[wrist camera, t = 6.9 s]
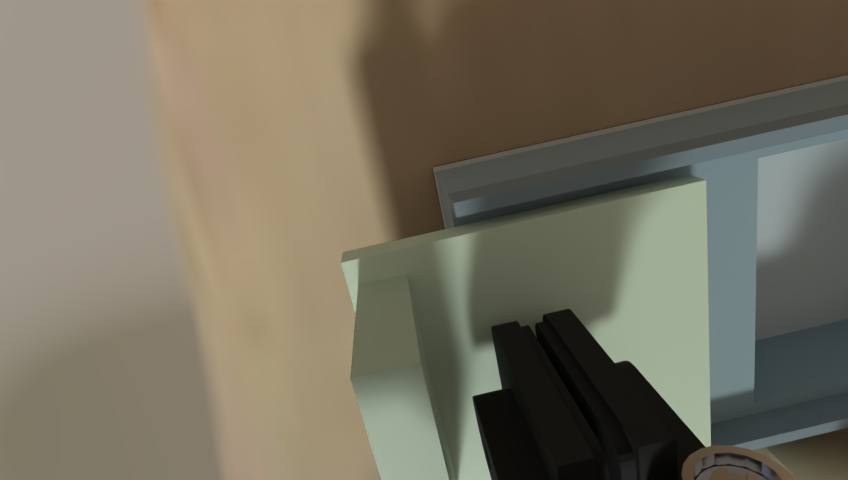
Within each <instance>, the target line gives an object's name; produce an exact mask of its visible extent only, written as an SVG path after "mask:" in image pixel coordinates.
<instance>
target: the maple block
mask: <svg viewBox="0 0 848 480" xmlns="http://www.w3.org/2000/svg"><path fill="white" fill-rule="evenodd" d="M753 451H755V452H758V453H760V454H763V455H765V456H767V457H769V458H770V459H772V460H773V461H775V462H777V463H778V464H780V465H781V466H783V467H784V468H785V469H787V470H788V471H789V472H790V473H792V474H793V475H794V476H795V477H797V478H798V479H799V480H848V428H844V429H840V430H836V431H832V432H828V433H823V434H819V435H815V436H811V437H806V438H802V439H798V440H794V441H790V442H785V443H781V444H777V445H773V446H769V447H764V448H760V449H756V450H753Z"/></svg>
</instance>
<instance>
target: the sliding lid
mask: <svg viewBox="0 0 848 480" xmlns="http://www.w3.org/2000/svg"><path fill="white" fill-rule="evenodd" d="M341 264H342V268H343V271H344V275H345V278H346V282H347V285H348V289H349V292H350V296H351V299H352V303H353V307H354V310H355V314H356V317H355V329H354V341H353V354H352V366H351V381H352V385H353V388H354V391H355V395H356V398H357V401H358V405H359V408H360V411H361V415H362V418H363V421H364V425H365V428H366V431H367V435H368V438H369V441H370V445H371V448H372V451H373V455H374V458H375V461H376V465H377V468H378V471H379V475H380V478H381V480H491V476H490V473H489V469H488V465H487V461H486V458H485V454H484V450H483V446H482V441H481V437H480V433H479V428H478V423H477V419H476V414H475V409H474V404H473V398H472V396H475V395H479V394H484V393H488V392H492V391H496V390H501V389H502V386H501V381H500V376H499V370H498V365H497V359H496V354H495V348H494V343H493V337H492V331H491V327H492V326H495V325H500V324H504V323H508V322H513V321H518V323H519V324H520V326H521V327H522V326H526V325H529V326H530V328H531V330H532V331H533V333H534V335H535V336H536V331H535V324H536V323H539V322H543V315H544V314H547V313H552V312H556V311H560V310H565V309H570V310H572V312H573V313H574V314H575V315H576V316H577V318H578V319H579V320H580V321H581V323H582V324H583V325H584V326H585V327H586V329H587V330H588V331H589V332H590V334H591V335H592V336H593V337H594V338H595V340H596V341H597V342H598V343H599V345H600V346H601V347H602V348H603V349H604V351H605V352H606V353H607V354H608V356H609V357H610V358H611V359H612V360H613V362H614V363H617V362H621V361H625V360H626V361H630V362H631V363H632V364H633V365H634V366H635V367H636V368H637V369H638V370H639V372H640V373H641V374H642V375H643V376H644V377H645V378H646V380H647V381H648V382H649V383H650V384H651V385H652V386H653V388H654V389H655V390H656V391H657V392H658V393H659V394H660V396H661V397H662V398H663V399H664V400H665V401H666V402H667V404H668V405H669V406H670V407H671V408H672V409H673V410H674V412H675V413H676V414H677V415H678V416H679V417H680V418H681V420H682V421H683V422H684V423H685V424H686V425H687V426H688V428H689V429H690V430H691V431H692V432H693V433H694V434H695V436H696V437H697V438H698V439H699V440H700V441H701V442H702V444H703V445H704V446H705V447H709V446H711V418H710V363H709V308H708V253H707V197H706V180H704V179H701V178H698V177H695V176H692V175H689V174H687V175H683V176H678V177H674V178H669V179H665V180H661V181H656V182H652V183H647V184H643V185H638V186H634V187H630V188H625V189H621V190H616V191H612V192H607V193H603V194H599V195H594V196H590V197H585V198H581V199H576V200H572V201H568V202H563V203H559V204H554V205H550V206H545V207H541V208H537V209H532V210H528V211H523V212H519V213H514V214H510V215H506V216H501V217H497V218H492V219H488V220H483V221H479V222H475V223H470V224H466V225H461V226H457V227H453V228H448V229H444V230H439V231H435V232H430V233H426V234H422V235H417V236H413V237H408V238H404V239H399V240H395V241H391V242H386V243H382V244H377V245H373V246H368V247H364V248H360V249H355V250H351V251H346V252H343V255H342V261H341Z"/></svg>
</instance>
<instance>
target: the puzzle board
mask: <svg viewBox="0 0 848 480" xmlns="http://www.w3.org/2000/svg"><path fill="white" fill-rule="evenodd" d="M433 172H434V177H435V182H436V187H437V192H438V197H439V202H440V206H441V211H442V216H443V221H444V226H445V229H448V228H453V227H457V226H461V225H466V224H470V223H475V222H479V221H483V220H488V219H492V218H497V217H501V216H506V215H510V214H514V213H519V212H523V211H528V210H532V209H537V208H541V207H545V206H550V205H554V204H559V203H563V202H568V201H572V200H576V199H581V198H585V197H590V196H594V195H599V194H603V193H607V192H612V191H616V190H621V189H625V188H630V187H634V186H638V185H643V184H647V183H652V182H656V181H661V180H665V179H669V178H674V177H678V176H683V175H687V174H689V175H692V176H695V177H698V178H701V179H704V180H706V197H707V253H708V308H709V363H710V418H711V446H714V445H731V446H736V447H741V448H746V449H750V450H752V451H753V450H756V449H760V448H764V447H769V446H773V445H777V444H781V443H785V442H790V441H794V440H798V439H802V438H806V437H811V436H815V435H819V434H823V433H828V432H832V431H836V430H840V429H844V428H848V75H844V76H840V77H835V78H831V79H826V80H822V81H818V82H813V83H809V84H804V85H800V86H795V87H791V88H786V89H782V90H777V91H773V92H768V93H764V94H759V95H755V96H750V97H746V98H741V99H737V100H732V101H728V102H724V103H719V104H715V105H710V106H706V107H701V108H697V109H692V110H688V111H683V112H679V113H674V114H670V115H665V116H661V117H656V118H652V119H647V120H643V121H638V122H634V123H630V124H625V125H621V126H616V127H612V128H607V129H603V130H598V131H594V132H589V133H585V134H580V135H576V136H571V137H567V138H562V139H558V140H553V141H549V142H544V143H540V144H536V145H531V146H527V147H522V148H518V149H513V150H509V151H504V152H500V153H495V154H491V155H486V156H482V157H477V158H473V159H468V160H464V161H459V162H455V163H450V164H446V165H442V166H437V167H433ZM709 447H710V446H709Z"/></svg>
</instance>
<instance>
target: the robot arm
mask: <svg viewBox="0 0 848 480" xmlns="http://www.w3.org/2000/svg"><path fill="white" fill-rule="evenodd" d="M491 331H492V337H493V343H494V348H495V354H496V359H497V365H498V370H499V376H500V381H501V386H502V389H501V390H496V391H492V392H488V393H484V394H479V395H475V396H472V398H473V404H474V409H475V414H476V419H477V423H478V428H479V433H480V437H481V441H482V446H483V450H484V454H485V458H486V461H487V465H488V469H489V473H490V476H491V480H799V479H798V478H797V477H795V476H794V475H793V474H792V473H790V472H789V471H788V470H787V469H785V468H784V467H783V466H781V465H780V464H778V463H777V462H775V461H773V460H772V459H770V458H769V457H767V456H765V455H763V454H760V453H758V452H755V451H752V450H750V449H746V448H741V447H736V446H731V445H714V446H710V447H705V446H704V445H703V444H702V442H701V441H700V440H699V439H698V438H697V437H696V436H695V434H694V433H693V432H692V431H691V430H690V429H689V428H688V426H687V425H686V424H685V423H684V422H683V421H682V420H681V418H680V417H679V416H678V415H677V414H676V413H675V412H674V410H673V409H672V408H671V407H670V406H669V405H668V404H667V402H666V401H665V400H664V399H663V398H662V397H661V396H660V394H659V393H658V392H657V391H656V390H655V389H654V388H653V386H652V385H651V384H650V383H649V382H648V381H647V380H646V378H645V377H644V376H643V375H642V374H641V373H640V372H639V370H638V369H637V368H636V367H635V366H634V365H633V364H632V363H631V362H630V361H626V360H625V361H621V362H617V363H614V362H613V360H612V359H611V358H610V357H609V356H608V354H607V353H606V352H605V351H604V349H603V348H602V347H601V346H600V345H599V343H598V342H597V341H596V340H595V338H594V337H593V336H592V335H591V334H590V332H589V331H588V330H587V329H586V327H585V326H584V325H583V324H582V323H581V321H580V320H579V319H578V318H577V316H576V315H575V314H574V313H573V312H572V310H570V309H565V310H560V311H556V312H552V313H547V314H544V315H543V322H539V323H536V324H535V331H536V336H535V335H534V333H533V331H532V330H531V328H530V326H529V325H526V326H522V327H521V326H520V324H519V323H518V321H513V322H508V323H504V324H500V325H495V326H492V327H491Z"/></svg>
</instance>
